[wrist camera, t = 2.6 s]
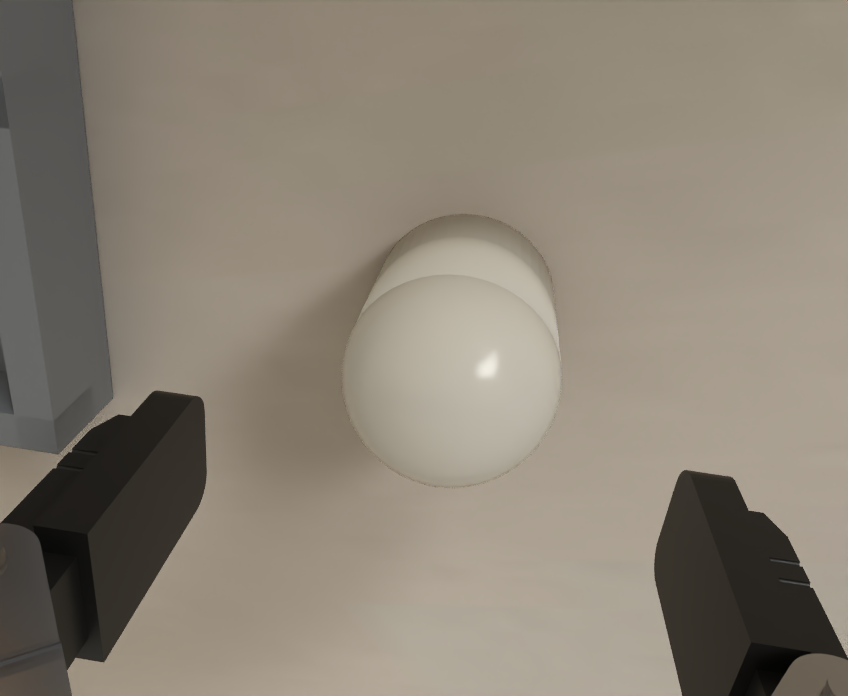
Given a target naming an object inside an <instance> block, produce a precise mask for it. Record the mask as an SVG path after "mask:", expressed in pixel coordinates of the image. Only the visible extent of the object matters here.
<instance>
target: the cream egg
mask: <svg viewBox="0 0 848 696" xmlns="http://www.w3.org/2000/svg"><path fill="white" fill-rule="evenodd" d="M561 388H562V366H561V356H560V346H559V336H558V327H557V317H556V307H555V297H554V289H553V283H552V278H551V275H550V272H549V269H548V267H547V265H546V263H545V261H544V259H543V257H542V256H541V254H540V253H539V251H538V250H537V249H536V247H535V246H534V245H533V244H532V243H531V242H530V241H529V240H528V239H527V238H526V237H525V236H524V235H522V234H521V233H520V232H518V231H517V230H515V229H514V228H512V227H511V226H509V225H507V224H505V223H503V222H500V221H498V220H495V219H492V218H489V217H484V216H479V215H469V214H459V215H449V216H444V217H439V218H436V219H433V220H430V221H428V222H426V223H424V224H422V225H419V226H418V227H416V228H415V229H413V230H412V231H410V232H409V233H408V234H406V235H405V236H404V237H403V238H402V239H401V240H400V241H399V242H398V243H397V244H396V245H395V247H394V248H393V249H392V251H391V252H390V254H389V255H388V257H387V259H386V261H385V263H384V265H383V267H382V269H381V271H380V273H379V276H378V278H377V280H376V282H375V284H374V286H373V288H372V290H371V292H370V294H369V296H368V298H367V300H366V303H365V305H364V307H363V309H362V311H361V313H360V315H359V317H358V319H357V321H356V323H355V325H354V327H353V330H352V332H351V334H350V336H349V339H348V342H347V345H346V349H345V352H344V356H343V364H342V392H343V398H344V403H345V407H346V410H347V413H348V416H349V419H350V421H351V423H352V425H353V427H354V429H355V431H356V433H357V434H358V436H359V437H360V439H361V441H362V442H363V444H364V445H365V446H366V447H367V449H368V450H369V451H370V452H371V453H372V454H373V455H374V456H375V457H376V458H377V459H378V460H379V461H380V462H382V463H383V464H384V465H386V466H387V467H388V468H390V469H391V470H393V471H394V472H396V473H398V474H399V475H401V476H403V477H405V478H408V479H410V480H412V481H415V482H418V483H421V484H425V485H429V486H434V487H443V488H461V487H470V486H474V485H478V484H482V483H485V482H488V481H491V480H494V479H496V478H498V477H501V476H503V475H505V474H507V473H508V472H510V471H511V470H513V469H514V468H516V467H517V466H518V465H519V464H521V463H522V462H523V461H524V460H525V459H527V458H528V457H529V456H530V455H531V454H532V453H533V452H534V450H535V449H536V448H537V447H538V446H539V444H540V443H541V441H542V440H543V438H544V437H545V435H546V434H547V432H548V431H549V429H550V427H551V425H552V422H553V420H554V418H555V415H556V411H557V408H558V405H559V401H560V395H561Z"/></svg>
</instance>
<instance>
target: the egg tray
mask: <svg viewBox="0 0 848 696" xmlns="http://www.w3.org/2000/svg"><path fill="white" fill-rule="evenodd" d="M112 399H113V391H112V381H111V372H110V362H109V353H108V343H107V333H106V324H105V314H104V305H103V295H102V285H101V276H100V266H99V256H98V247H97V237H96V228H95V218H94V208H93V199H92V189H91V179H90V170H89V160H88V151H87V141H86V131H85V122H84V112H83V102H82V93H81V83H80V74H79V64H78V54H77V45H76V35H75V25H74V16H73V6H72V0H0V445H3V446H10V447H16V448H22V449H28V450H35V451H41V452H47V453H53V454H59V453H60V452H61V451H62V450H63V449H64V448H65V447H66V446H67V445H68V444H69V443H70V442H71V441H72V440H73V439H74V438H75V437H76V436H77V435H78V434H79V433H80V432H81V431H82V429H83V428H84V427H85V426H86V425H87V424H88V423H89V422H90V421H91V420H92V419H93V418H94V417H95V416H96V415H97V414H98V413H99V412H100V411H101V410H102V409H103V408H104V407H105V406H106V405H107V404H108V403H109V402H110V401H111V400H112Z"/></svg>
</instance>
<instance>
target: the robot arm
mask: <svg viewBox="0 0 848 696" xmlns="http://www.w3.org/2000/svg"><path fill="white" fill-rule="evenodd" d="M206 474H207V468H206V440H205V411H204V403H203V401H202V399H201V398H200V397H198V396H191V395H184V394H177V393H171V392H164V391H154V392H152V393H151V394H150V395H149V396H148V398H147V399H146V400H145V401H144V402H143V403H142V404H141V405H140V406H139V408H138V409H137V410H136V411H135V412H134V413H133V414H132V415H131V416H125V415H117V416H115V417H113V418H111V419H109V420H108V421H106V422H104V423H102V424H100V425H98V426H96V427H94V428H92V429H91V430H90V431H89V432H88V433H87V434H86V435H85V436H84V437H83V438H82V439H81V440H80V441H79V442H78V443H77V444H76V445H75V446H74V447H73V448H72V453H70V452H69V453H68V454H67V455H66V456H65V457H64V458H63V459H62V460H61V461H60V462H59V463H58V464H57V468H56V469H55V468H53V469H52V470H51V471H50V472H49V473H48V474H47V475H46V477H45V478H44V479H43V480H42V481H41V482H40V483H39V484H38V485H37V486H36V487H35V488H34V489H33V490H32V491H31V492H30V493H29V494H28V495H27V496H26V497H25V498H24V499H23V500H22V501H21V503H20V504H19V505H18V506H17V507H16V508H15V509H14V510H13V511H12V512H11V513H10V514H9V515H8V516H7V517H6V518H5V519H4V520H3V521H2V522H1V523H0V696H72V693H71V688H70V683H69V678H68V673H67V670H68V668H69V667H70V665H71V664H72V662H73V661H74V659H75V658H81V659H87V660H93V661H99V662H104V661H105V660H106V658H107V657H108V655H109V653H110V652H111V650H112V648H113V647H114V645H115V643H116V642H117V640H118V639H119V637H120V635H121V634H122V632H123V630H124V629H125V627H126V625H127V624H128V622H129V620H130V619H131V617H132V616H133V614H134V612H135V611H136V609H137V607H138V606H139V604H140V602H141V601H142V599H143V597H144V596H145V594H146V593H147V591H148V589H149V588H150V586H151V584H152V583H153V581H154V579H155V578H156V576H157V575H158V573H159V571H160V570H161V568H162V566H163V565H164V563H165V561H166V560H167V558H168V556H169V555H170V553H171V552H172V550H173V548H174V547H175V545H176V543H177V542H178V540H179V538H180V537H181V535H182V533H183V532H184V530H185V529H186V527H187V525H188V524H189V522H190V520H191V519H192V517H193V515H194V514H195V512H196V511H197V509H198V507H199V505H200V502H201V499H202V496H203V493H204V489H205V484H206ZM799 563H800V561H799V559H798V557H797V555H796V553H795V551H794V549H793V547H792V545H791V543H790V541H789V539H788V537H787V536H786V535H785V534H784V533H783V532H782V531H781V530H780V529H779V528H778V527H777V526H776V525H775V524H774V523H773V522H772V521H771V520H770V519H769V518H768V517H767V516H766V515H765V514H764V513H760V512H754V511H748V508H747V506H746V504H745V502H744V500H743V497H742V495H741V493H740V491H739V488H738V486H737V484H736V482H735V480H734V479H733V478H732V477H728V476H722V475H715V474H708V473H701V472H695V471H688V470H684V471H683V472H682V473H681V474H680V475H679V477H678V480H677V482H676V485H675V489H674V492H673V495H672V498H671V501H670V504H669V508H668V511H667V514H666V517H665V520H664V523H663V527H662V530H661V533H660V536H659V539H658V543H657V547H656V553H655V563H654V572H655V581H656V586H657V590H658V595H659V599H660V603H661V607H662V611H663V616H664V620H665V624H666V628H667V632H668V637H669V641H670V645H671V649H672V654H673V658H674V662H675V666H676V670H677V675H678V679H679V683H680V687H681V691H682V696H848V658H847V656H846V654H845V652H844V650H843V648H842V645H841V643H840V641H839V639H838V637H837V635H836V633H835V631H834V629H833V627H832V625H831V623H830V621H829V619H828V617H827V615H826V613H825V611H824V609H823V607H822V605H821V603H820V601H819V599H818V597H817V595H816V593H815V591H814V589H813V588H810V581H809V579H808V577H807V575H806V573H805V571H804V569H803V567H800V566H799Z"/></svg>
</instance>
